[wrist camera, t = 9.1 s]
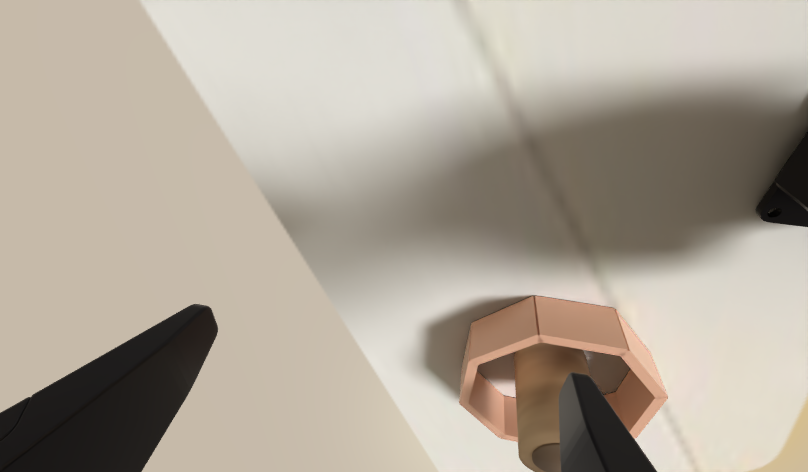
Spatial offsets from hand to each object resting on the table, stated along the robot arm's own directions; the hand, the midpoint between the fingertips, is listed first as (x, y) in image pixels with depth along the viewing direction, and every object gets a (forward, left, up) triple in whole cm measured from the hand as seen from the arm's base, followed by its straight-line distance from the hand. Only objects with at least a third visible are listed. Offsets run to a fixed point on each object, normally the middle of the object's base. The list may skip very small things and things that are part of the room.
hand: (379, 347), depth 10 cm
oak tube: (-9, +14, -12) cm, 21 cm away
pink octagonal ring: (-9, +14, -12) cm, 20 cm away
